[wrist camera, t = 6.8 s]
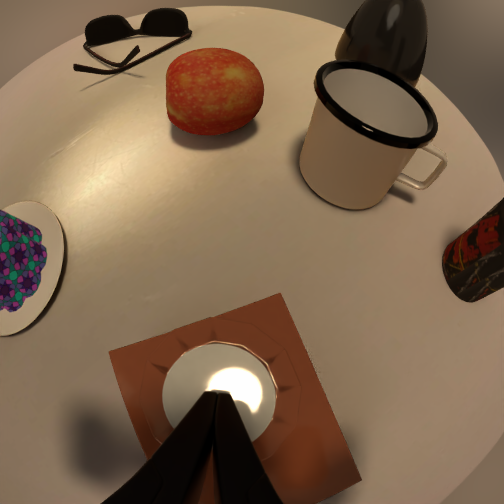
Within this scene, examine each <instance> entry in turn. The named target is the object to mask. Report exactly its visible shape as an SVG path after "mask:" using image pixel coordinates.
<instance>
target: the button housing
mask: <svg viewBox="0 0 504 504" xmlns="http://www.w3.org/2000/svg"><path fill="white" fill-rule="evenodd" d="M207 344H228V345H232V346H236V347H239V348H241V349H243V350H245V351H247V352H249V353H250V354H252V355H253V356H255V357H256V358H257V359H258V360H259V361H260V362H261V363H262V364H263V365H264V366H265V368H266V369H267V371H268V372H269V374H270V376H271V378H272V381H273V384H274V388H275V394H276V404H275V410H274V414H273V417H272V419H271V421H270V423H269V425H268V427H267V428H266V429H265V431H264V432H263V433H262V434H261V435H260V436H259V437H258V438H257V439H255V440H254V441H253V442H252V443H253V445H254V448H255V450H256V452H257V454H258V456H259V458H260V461H261V463H262V465H263V467H264V469H265V471H266V472H265V473H267V475H268V477H269V479H270V481H271V483H272V485H273V487H274V488H275V490H276V492H277V494H278V495H279V497H280V498H281V500H282V501H283V503H284V504H316V503H318V502H320V501H322V500H325V499H327V498H329V497H331V496H333V495H335V494H337V493H339V492H341V491H343V490H344V489H346V488H348V487H350V486H352V485H354V484H356V483H357V482H359V481H361V480H362V479H361V477H360V474H359V472H358V469H357V467H356V465H355V462H354V460H353V458H352V455H351V453H350V451H349V448H348V446H347V444H346V441H345V439H344V437H343V434H342V432H341V430H340V427H339V425H338V423H337V420H336V418H335V416H334V413H333V411H332V409H331V406H330V404H329V402H328V400H327V397H326V395H325V393H324V390H323V388H322V386H321V383H320V381H319V379H318V377H317V374H316V372H315V370H314V367H313V365H312V363H311V361H310V358H309V356H308V354H307V351H306V349H305V347H304V345H303V342H302V340H301V338H300V335H299V333H298V331H297V329H296V326H295V324H294V322H293V320H292V317H291V315H290V313H289V311H288V308H287V306H286V304H285V302H284V299H283V297H282V295H281V293H278V294H275V295H273V296H270V297H267V298H265V299H262V300H259V301H257V302H254V303H251V304H248V305H246V306H243V307H240V308H237V309H235V310H232V311H229V312H226V313H223V314H221V315H218V316H215V317H209V318H206V319H203V320H201V321H198V322H195V323H192V324H189V325H186V326H183V327H180V328H177V329H174V330H173V331H171V332H168V333H165V334H162V335H159V336H156V337H153V338H150V339H147V340H143V341H140V342H137V343H134V344H131V345H128V346H124V347H121V348H118V349H115V350H111V351H109V355H110V359H111V362H112V366H113V369H114V372H115V375H116V379H117V382H118V385H119V388H120V391H121V394H122V397H123V400H124V403H125V405H126V408H127V411H128V414H129V416H130V419H131V422H132V424H133V427H134V429H135V432H136V434H137V437H138V439H139V442H140V444H141V446H142V449H143V451H144V453H145V456H146V458H147V460H148V459H149V458H151V456H152V455H153V454H154V452H155V451H156V450H157V449H158V448H159V446H160V445H161V444H162V443H163V442H164V440H165V439H166V438H167V437H168V436H169V434H170V433H171V432H172V431H173V430H174V428H173V427H172V426H171V424H170V423H169V421H168V419H167V416H166V414H165V411H164V407H163V401H162V392H163V385H164V381H165V378H166V376H167V373H168V372H169V370H170V368H171V367H172V366H173V364H174V363H175V362H176V361H177V360H178V359H179V358H180V357H181V356H182V355H184V354H185V353H187V352H188V351H190V350H192V349H194V348H197V347H199V346H203V345H207ZM198 504H215V503H214V486H213V465H212V453H211V457H210V461H209V465H208V469H207V473H206V477H205V480H204V484H203V488H202V492H201V496H200V500H199V503H198Z"/></svg>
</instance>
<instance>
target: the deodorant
mask: <svg viewBox="0 0 504 504" xmlns="http://www.w3.org/2000/svg"><path fill="white" fill-rule="evenodd" d="M442 265H443V272H444V275H445V278H446V281H447V283H448V285H449V287H450V288H451V290H452V291H453V292H454V293H455V295H456V296H458V297H459V298H460V299H461V300H464V301H466V302H475V301H478V300H480V299H482V298H484V297H486V296H488V295H490V294H492V293H494V292H496V291H497V290H499V289H501V288H503V287H504V198H503V199H502V200H501V201H500V202H499V203H498V204H496V205H495V206H494V207H493V208H492V209H491V210H490V211H489V212H487V213H486V214H485V215H484V216H483V217H482V218H481V219H479V220H478V221H477V222H476V223H475V224H474V225H472V226H471V227H470V228H469V229H468V230H466V231H465V232H464V233H463V234H462V235H460V236H459V237H458V238H457V239H455V240H454V241H453V242H452V243H450V244H449V245H448V246H447V248H446V249H445V251H444V254H443V262H442Z"/></svg>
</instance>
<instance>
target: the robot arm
mask: <svg viewBox="0 0 504 504" xmlns="http://www.w3.org/2000/svg"><path fill="white" fill-rule="evenodd" d="M212 446H213V447H212ZM211 453H212V465H213V486H214V503H215V504H284V503H283V501H282V500H281V498H280V497H279V495H278V494H277V492H276V490H275V488H274V487H273V485H272V483H271V481H270V479H269V477H268V475H267V473H265V472H266V471H265V469H264V467H263V465H262V463H261V461H260V458H259V456H258V454H257V452H256V450H255V448H254V445H253V443H252V441H251V439H250V437H249V434H248V432H247V430H246V428H245V425H244V423H243V421H242V419H241V416H240V414H239V412H238V409H237V407H236V405H235V402H234V400H233V398H232V395H231V394H229V393H221V392H219V393H218V394H217V392H213V391H204V392H203V393H202V395H201V396H200V397H199V399H198V400H197V401H196V402H195V404H194V405H193V406H192V407H191V409H190V410H189V411H188V412H187V414H186V415H185V416H184V417H183V419H182V420H181V421H180V422H179V423H178V425H177V426H176V427H175V428H174V430H173V431H172V432H171V433H170V434H169V436H168V437H167V438H166V439H165V440H164V442H163V443H162V444H161V445H160V446H159V448H158V449H157V450H156V451H155V452H154V454H153V455H152V456H151V458H149V459H148V461H147V462H146V463H145V464H144V465H143V466H142V467H141V468H140V470H139V471H138V472H137V473H136V474H135V475H134V476H133V477H132V478H131V479H130V480H129V481H127V482H126V483H125V484H124V485H123V486H122V487H121V488H119V489H118V490H117V491H116V492H114V493H113V494H112V495H111V496H110V497H108V498H107V499H106V500H105V501H103V502H102V503H101V504H198V503H199V500H200V496H201V492H202V488H203V484H204V480H205V477H206V473H207V469H208V465H209V461H210V457H211Z"/></svg>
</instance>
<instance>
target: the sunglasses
mask: <svg viewBox="0 0 504 504" xmlns="http://www.w3.org/2000/svg"><path fill="white" fill-rule="evenodd" d="M134 35H151V36H173V37H174V36H182V37H180V38H178V39H176V40H174V41H172V42H170V43H168V44H167V45H165V46H163V47H161V48H159V49H157V50H155V51H153V52H151V53H149V54H147V55H145V56H143V57H142V58H140V59H138V60H136V61H134V62H132V63H129V64H127V63H128V62H129V61H130V60H132V59H133V58H134V57H135V56H136V55H137V54H138V53H139V52H140V49H139V46H138V45H137V46H136V47H135V48H134V49H133V50H132V51H131V52H130V54H129V55H128V56H127V57H126V58H125V59H124V61H122V62H121V63H115V62H111V61H109V60H106V59H104V58H103V57H101V56H99V55H98V54H96V53H95V52H93V51H92V50H90V49H89V48H88V46H93V45H100V44H105V43H109V42H113V41H117V40H120V39H123V38H126V37H130V36H134ZM191 35H192V31H191V30H189V28H188V20H187V17H186V15H185V13H184V12H183V11H181V10H179V9H174V8H160V9H155V10H152V11H150V12H148V13H147V14H146V16H145V17H144V19H143V21H142V23H141V27H140V29H137V30H134V29H133V28H132V27H131V26H130V24H129V23H128V21H127V20H126V19H125V18H124V17H122V16H120V15H107V16H102V17H99V18H96V19H94V20H92V21H90V22H89V23H88V24H87V26H86V28H85V37H86V42H85V43H84V45H83V47H84V49H85V50H86V51H88V52H89V53H90V54H91V55H93V56H94V57H96V58H97V59H99V60H101V61H102V62H104V63H106V64H108V65H111V66H114V67H119V68H117V69H114V70H102V69H97V68H93V67H88V66H83V65H78V64H74V65H73V68H74V70H75V71H80V72H88V73H95V74H101V75H110V74H116V73H119V72H121V71H124V70H126V69H128V68H130V67H132V66H134V65H137V64H139V63H141V62H143V61H144V60H146V59H148V58H150V57H152V56H154V55H156V54H158V53H160V52H162V51H164V50H166V49H168V48H170V47H172V46H174V45H176V44H178V43H180V42H181V41H183V40H185V39H187V38H189V37H190V36H191ZM126 64H127V65H126ZM124 65H125V66H124Z"/></svg>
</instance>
